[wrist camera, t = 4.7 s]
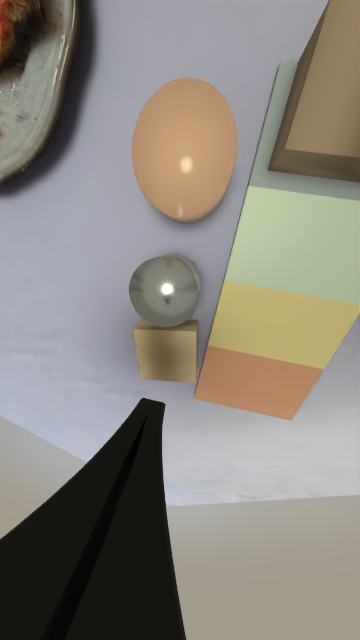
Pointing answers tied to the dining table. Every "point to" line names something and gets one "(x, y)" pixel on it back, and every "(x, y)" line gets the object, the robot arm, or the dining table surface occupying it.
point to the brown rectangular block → (325, 101)
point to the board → (283, 282)
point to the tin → (165, 290)
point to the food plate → (33, 76)
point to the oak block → (167, 351)
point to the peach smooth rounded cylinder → (185, 149)
